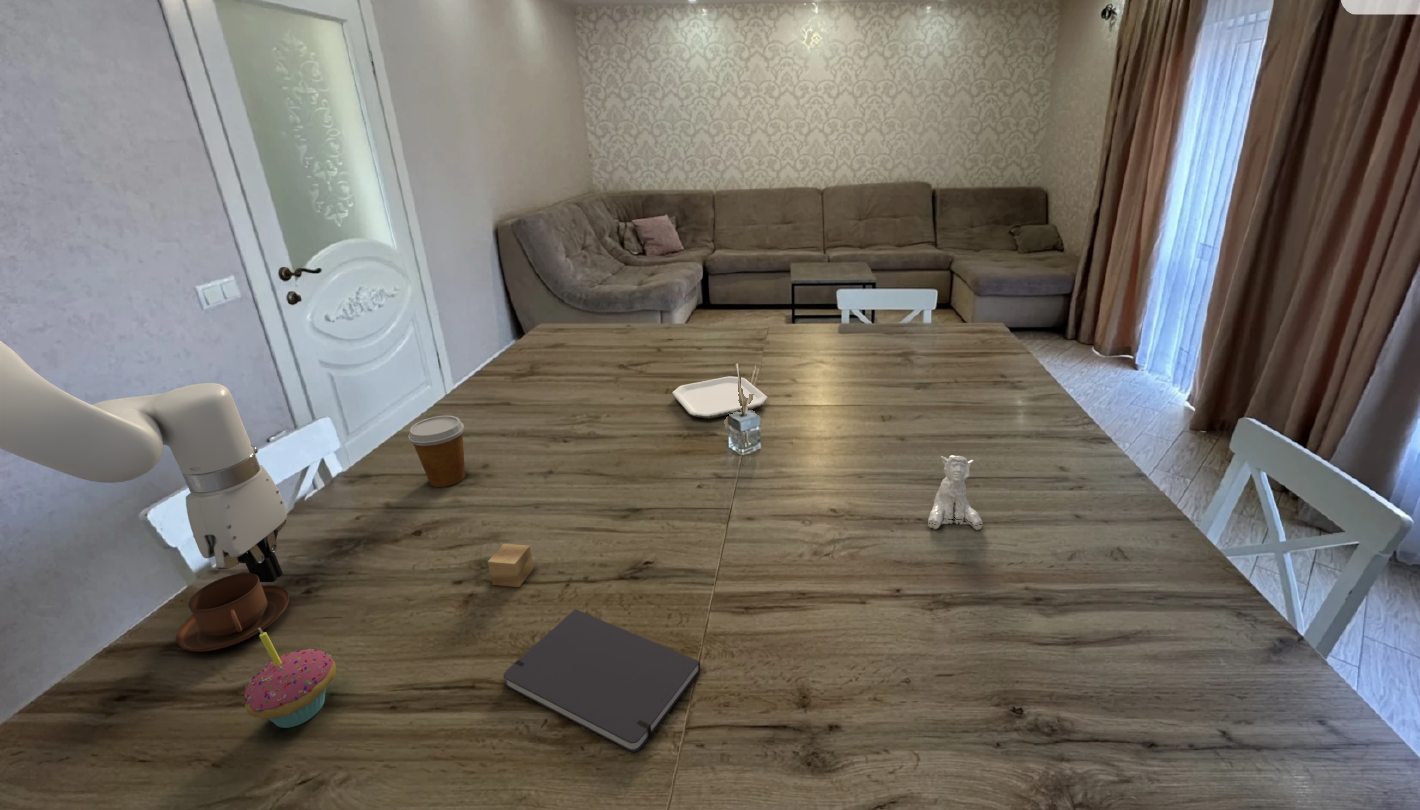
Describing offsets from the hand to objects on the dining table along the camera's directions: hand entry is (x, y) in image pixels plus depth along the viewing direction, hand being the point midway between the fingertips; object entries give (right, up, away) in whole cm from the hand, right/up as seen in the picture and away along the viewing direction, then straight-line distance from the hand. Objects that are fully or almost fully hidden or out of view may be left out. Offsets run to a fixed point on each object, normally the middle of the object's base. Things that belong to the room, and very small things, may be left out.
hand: (268, 578), depth 90 cm
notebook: (+54, -8, -13) cm, 56 cm away
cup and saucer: (0, -5, -4) cm, 7 cm away
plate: (+59, +22, +67) cm, 92 cm away
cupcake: (+19, -10, -17) cm, 27 cm away
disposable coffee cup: (+8, +8, +32) cm, 34 cm away
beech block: (+34, -2, +5) cm, 34 cm away
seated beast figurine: (+106, +4, +20) cm, 108 cm away
